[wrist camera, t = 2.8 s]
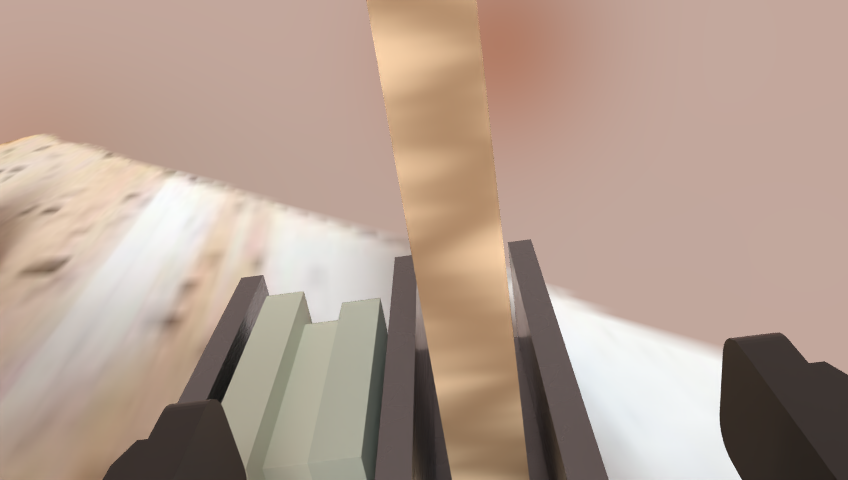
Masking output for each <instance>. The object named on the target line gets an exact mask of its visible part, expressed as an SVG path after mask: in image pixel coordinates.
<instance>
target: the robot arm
mask: <svg viewBox="0 0 848 480" xmlns="http://www.w3.org/2000/svg"><path fill="white" fill-rule="evenodd" d="M720 427H721V433H722V437H723V441H724V445H725V448H726V450H727V453H728V455H729V457H730V459H731V461H732V463H733V465H734V466H735V468H736V470H737V472H738V474H739V475H740V477H741V479H742V480H848V375H847V374H845V373H843V372H842V371H840V370H838V369H836V368H835V367H833V366H832V365H830V364H828V363H826V362H816V363H808V362H807V361H806V360H805V358H804V357H803V356H802V355H801V354H800V353H799V351H798V350H797V349H796V348H795V347H794V346H793V344H792V343H791V342H790V341H789V340H788V339H787V337H786V336H784V335H783V334H781V333H770V334H761V335H753V336H745V337H737V338H729V339H727V340H726V341H725V344H724V348H723V361H722V380H721V399H720ZM103 480H247V477H246V472H245V468H244V465H243V462H242V459H241V456H240V454H239V451H238V448H237V445H236V442H235V440H234V437H233V434H232V431H231V428H230V426H229V423H228V420H227V417H226V414H225V412H224V409H223V407H222V405H221V403H220V402H219V401H218V400H216V399H210V400H201V401H193V402H185V403H176V404H170V405H168V406H167V407H166V408H165V409H164V410H163V412H162V414H161V415H160V417H159V419H158V421H157V423H156V425H155V427H154V429H153V430H152V432H151V434H150V436H149V438H148V439H144V440H137V441H136V442H135V443H134V444H133V445H132V446H131V447H130V448H129V449H128V450H127V451H126V452H124V453H123V454H122V455H121V456H120V457H119V458H118V459H117V460H116V461H115V462H114V463H113V464H112V465H111V466H110V468H109V470H108V471H107V473H106V475H105V477H104V478H103Z"/></svg>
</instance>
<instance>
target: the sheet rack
mask: <svg viewBox="0 0 848 480" xmlns="http://www.w3.org/2000/svg"><path fill="white" fill-rule="evenodd" d="M508 248H509V258H510V267H511V276H512V286H513V295H514V304H515V314H516V323H517V332H518V337H515V338H514V346H515V355H516V364H517V373H518V382H519V391H520V400H521V409H522V418H523V427H524V436H525V445H526V454H527V463H528V472H529V480H609V479H608V476H607V473H606V470H605V467H604V464H603V461H602V458H601V455H600V452H599V449H598V446H597V442H596V439H595V436H594V433H593V430H592V427H591V424H590V421H589V418H588V415H587V412H586V408H585V405H584V402H583V399H582V396H581V393H580V390H579V387H578V384H577V381H576V378H575V375H574V371H573V368H572V365H571V362H570V359H569V356H568V353H567V350H566V347H565V344H564V341H563V337H562V334H561V331H560V328H559V325H558V322H557V319H556V316H555V313H554V310H553V307H552V304H551V300H550V297H549V294H548V291H547V288H546V285H545V282H544V279H543V276H542V273H541V270H540V267H539V263H538V260H537V258H536V254H535V251H534V248H533V245H532V242H531V240H523V241H515V242H508ZM266 296H269V293H268V290H267V286H266V283H265V280H264V276H263V275H260V276H253V277H245V278H241V280H240V282H239V284H238V286H237V288H236V290H235V292H234V294H233V296H232V298H231V300H230V302H229V303H228V305H227V307H226V309H225V311H224V313H223V315H222V317H221V319H220V321H219V323H218V325H217V327H216V329H215V331H214V333H213V335H212V337H211V339H210V341H209V343H208V344H207V346H206V348H205V350H204V352H203V354H202V356H201V358H200V360H199V362H198V364H197V366H196V368H195V370H194V372H193V374H192V376H191V378H190V380H189V382H188V384H187V385H186V387H185V389H184V391H183V393H182V395H181V397H180V399H179V401H178V403H185V402H193V401H201V400H210V399H216V400H218V401H219V402H220V403H222V401H223V398H224V396H225V394H226V391H227V389H228V387H229V384H230V382H231V379H232V377H233V375H234V372H235V370H236V368H237V365H238V363H239V360H240V358H241V356H242V353H243V351H244V349H245V346H246V344H247V342H248V339H249V337H250V334H251V332H252V330H253V327H254V325H255V323H256V320H257V318H258V315H259V313H260V311H261V308H262V306H263V304H264V301H265V299H266ZM375 480H452V477H451V471H450V466H449V460H448V455H447V449H446V443H445V438H444V432H443V427H442V421H441V415H440V410H439V404H438V399H437V393H436V387H435V382H434V376H433V371H432V365H431V359H430V354H429V348H428V343H427V337H426V331H425V326H424V320H423V315H422V309H421V303H420V298H419V292H418V287H417V281H416V275H415V270H414V264H413V259H412V255H410V256H403V257H395V264H394V275H393V286H392V297H391V308H390V319H389V330H388V341H387V351H386V362H385V373H384V384H383V395H382V406H381V417H380V428H379V439H378V449H377V460H376V471H375Z"/></svg>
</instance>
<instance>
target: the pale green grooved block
mask: <svg viewBox="0 0 848 480" xmlns="http://www.w3.org/2000/svg"><path fill="white" fill-rule="evenodd" d="M387 341H388V333H387V328H386V323H385V318H384V314H383V309H382V304H381V299H380V298H376V299H368V300H360V301H353V302H345V303H342V306H341V311H340V315H339V320H336V321H328V322H320V323H312V321H311V317H310V313H309V309H308V306H307V302H306V298H305V294H304V291H303V292H295V293H287V294H280V295H272V296H266V299H265V301H264V304H263V306H262V308H261V311H260V313H259V315H258V318H257V320H256V323H255V325H254V327H253V330H252V332H251V334H250V337H249V339H248V342H247V344H246V346H245V349H244V351H243V353H242V356H241V358H240V360H239V363H238V365H237V368H236V370H235V372H234V375H233V377H232V379H231V382H230V384H229V387H228V389H227V391H226V394H225V396H224V398H223V401H222V403H221V405H222V407H223V409H224V412H225V414H226V417H227V420H228V423H229V426H230V428H231V431H232V434H233V437H234V440H235V442H236V445H237V448H238V451H239V454H240V456H241V459H242V462H243V465H244V468H245V472H246V477H247V480H375V471H376V460H377V449H378V439H379V428H380V417H381V406H382V395H383V384H384V373H385V362H386V351H387Z"/></svg>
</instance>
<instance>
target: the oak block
mask: <svg viewBox="0 0 848 480" xmlns="http://www.w3.org/2000/svg"><path fill="white" fill-rule="evenodd" d="M366 1H367V7H368V12H369V18H370V24H371V29H372V34H373V40H374V45H375V51H376V57H377V63H378V68H379V74H380V79H381V84H382V91H383V96H384V102H385V108H386V113H387V118H388V124H389V130H390V136H391V140H392V147H393V152H394V158H395V164H396V169H397V175H398V180H399V185H400V192H401V197H402V203H403V208H404V214H405V220H406V225H407V231H408V236H409V242H410V247H411V253H412V259H413V264H414V270H415V275H416V281H417V287H418V292H419V298H420V303H421V309H422V315H423V320H424V326H425V331H426V337H427V343H428V348H429V354H430V359H431V365H432V371H433V376H434V382H435V387H436V393H437V399H438V404H439V410H440V415H441V421H442V427H443V432H444V438H445V443H446V449H447V455H448V460H449V466H450V471H451V477H452V480H529V472H528V463H527V454H526V445H525V436H524V427H523V418H522V409H521V400H520V391H519V382H518V373H517V364H516V355H515V346H514V337H513V328H512V319H511V310H510V300H509V291H508V282H507V273H506V265H505V255H504V248H503V238H502V230H501V219H500V210H499V201H498V193H497V183H496V174H495V165H494V156H493V147H492V139H491V129H490V120H489V111H488V102H487V93H486V84H485V75H484V67H483V57H482V48H481V39H480V30H479V21H478V12H477V3H476V0H366Z"/></svg>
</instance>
